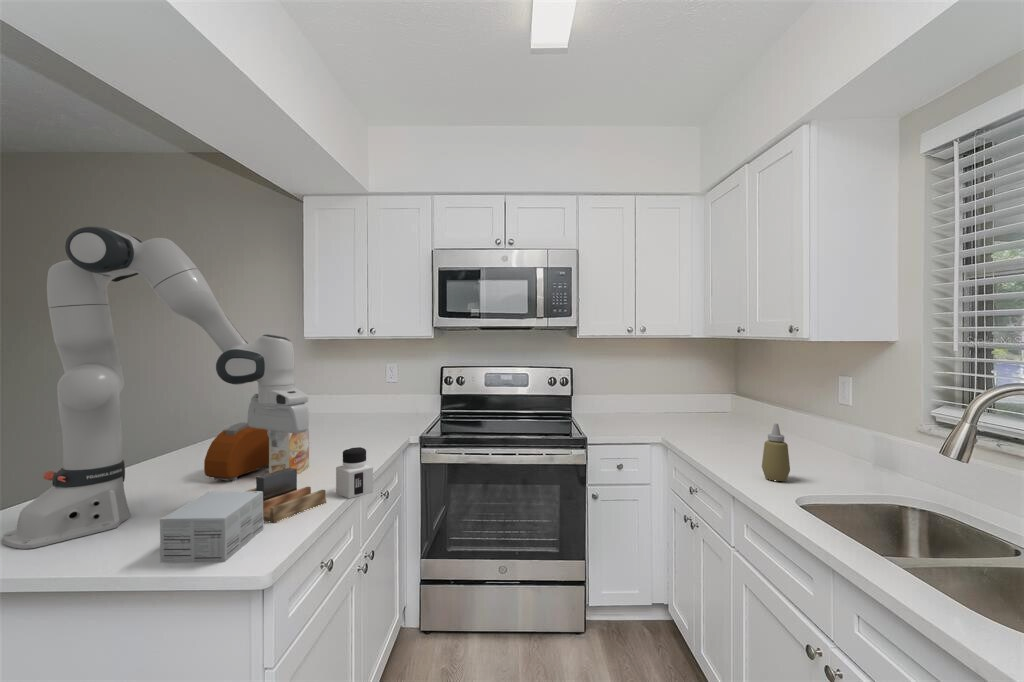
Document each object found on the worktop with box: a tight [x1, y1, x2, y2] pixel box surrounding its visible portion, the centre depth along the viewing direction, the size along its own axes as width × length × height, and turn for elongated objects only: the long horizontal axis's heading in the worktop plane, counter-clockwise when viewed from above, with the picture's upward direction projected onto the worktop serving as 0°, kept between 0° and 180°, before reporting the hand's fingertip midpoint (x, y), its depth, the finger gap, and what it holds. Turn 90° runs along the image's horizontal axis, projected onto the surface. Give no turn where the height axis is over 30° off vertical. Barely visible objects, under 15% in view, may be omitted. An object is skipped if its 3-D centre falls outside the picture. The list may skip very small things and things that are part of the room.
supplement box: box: [159, 490, 264, 564], centre depth 106 cm, size 17×13×9 cm
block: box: [255, 468, 298, 501], centre depth 130 cm, size 10×3×8 cm, turn 153°
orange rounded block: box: [203, 422, 269, 482], centre depth 162 cm, size 23×9×17 cm, turn 169°
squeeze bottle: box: [761, 423, 791, 482], centre depth 155 cm, size 8×8×18 cm
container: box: [335, 446, 374, 499], centre depth 141 cm, size 8×8×13 cm
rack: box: [246, 486, 327, 524], centre depth 130 cm, size 16×19×4 cm
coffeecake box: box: [268, 411, 310, 475], centre depth 161 cm, size 15×7×20 cm, turn 179°
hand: (277, 446), depth 130 cm, fingers closed
